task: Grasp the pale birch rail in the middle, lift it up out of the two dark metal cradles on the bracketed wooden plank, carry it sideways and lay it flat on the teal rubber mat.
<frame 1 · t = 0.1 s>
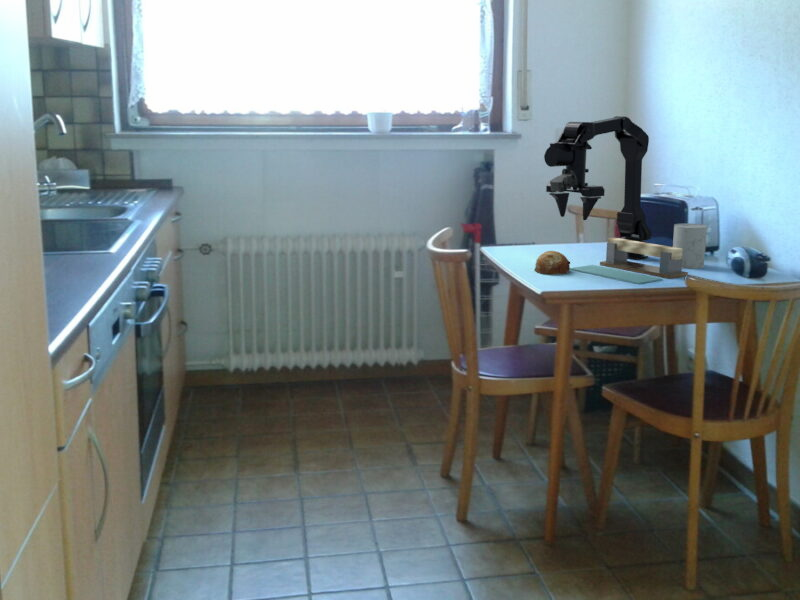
hand: (573, 218, 262), 15 cm above the table, fingers open, 9 cm apart
mat: (614, 274, 254), on the table
bracketed wooden plank: (642, 270, 260), on the table
rail: (643, 253, 259), point 5 cm above the table, touching bracketed wooden plank
grey stone cylinder: (687, 266, 268), on the table
bread roll: (552, 272, 259), on the table
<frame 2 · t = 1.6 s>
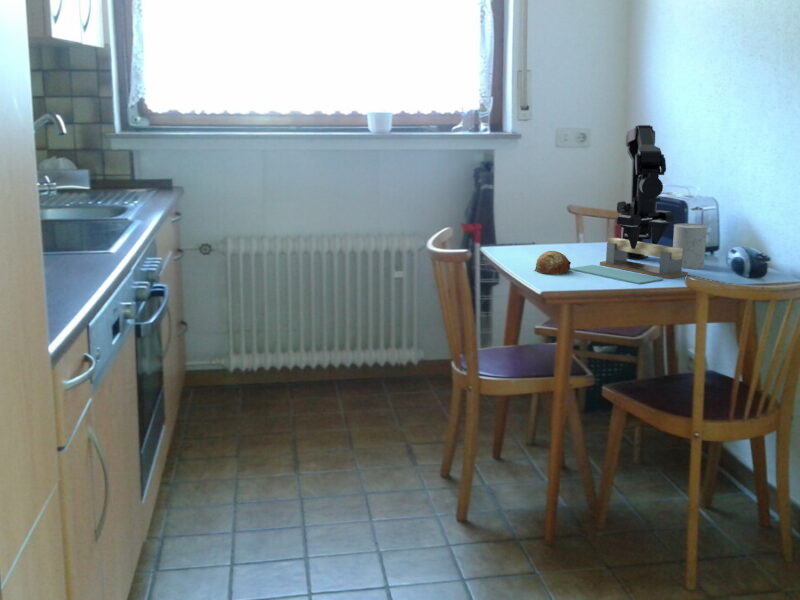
hand: (643, 247, 259), 7 cm above the table, fingers open, 9 cm apart
nothing on the table moved.
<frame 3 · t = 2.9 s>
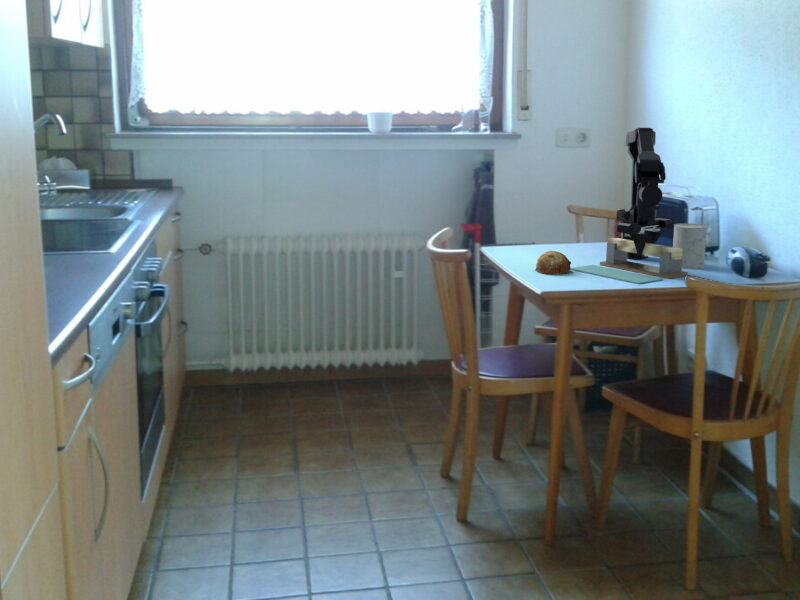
hand: (643, 255, 259), 5 cm above the table, fingers closed on rail, 3 cm apart
rail: (643, 253, 259), point 5 cm above the table, touching gripper, bracketed wooden plank
everything else where it was.
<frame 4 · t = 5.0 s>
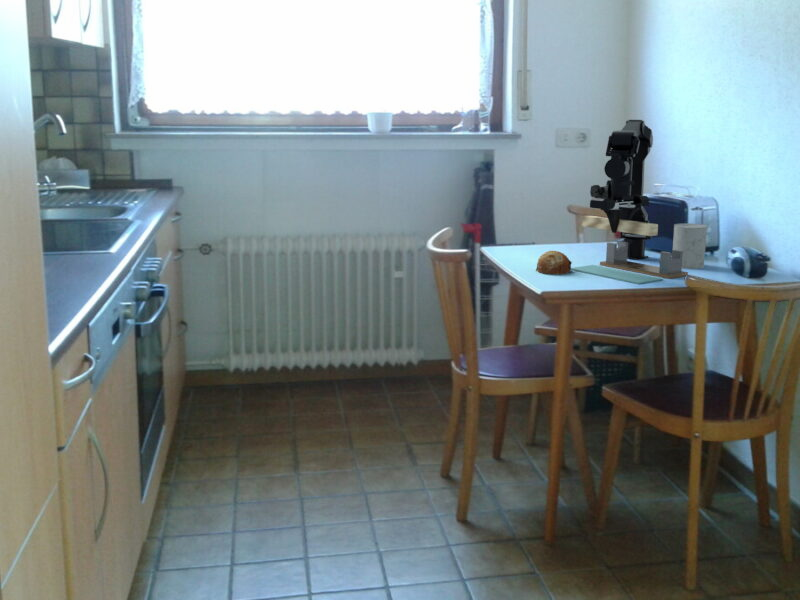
hand: (618, 232, 251), 12 cm above the table, fingers closed on rail, 3 cm apart
rail: (618, 230, 251), point 13 cm above the table, touching gripper
everything else where it was.
when the fingers open (2 cm above the table, at t = 7.4 s): rail drops 3 cm, resting on mat.
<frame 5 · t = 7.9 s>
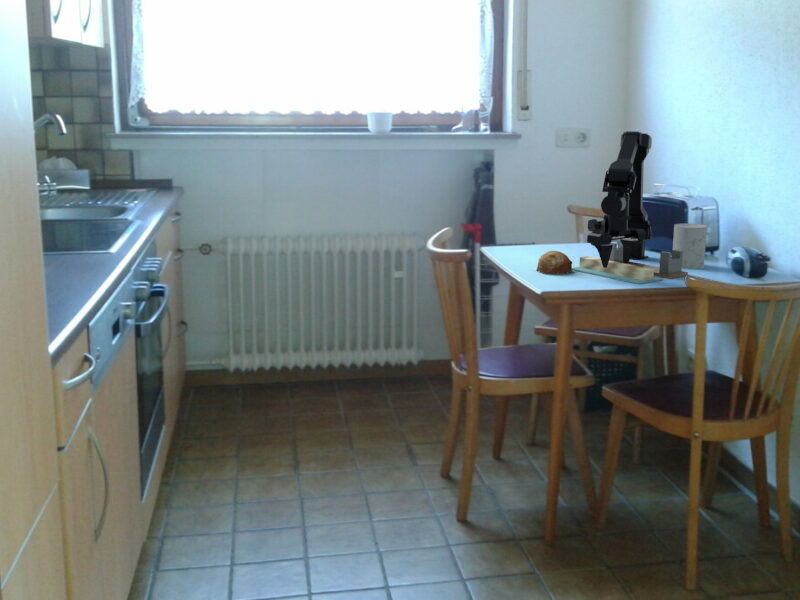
hand: (615, 266, 253), 2 cm above the table, fingers open, 8 cm apart
rail: (615, 273, 254), resting on mat
everything else where it was.
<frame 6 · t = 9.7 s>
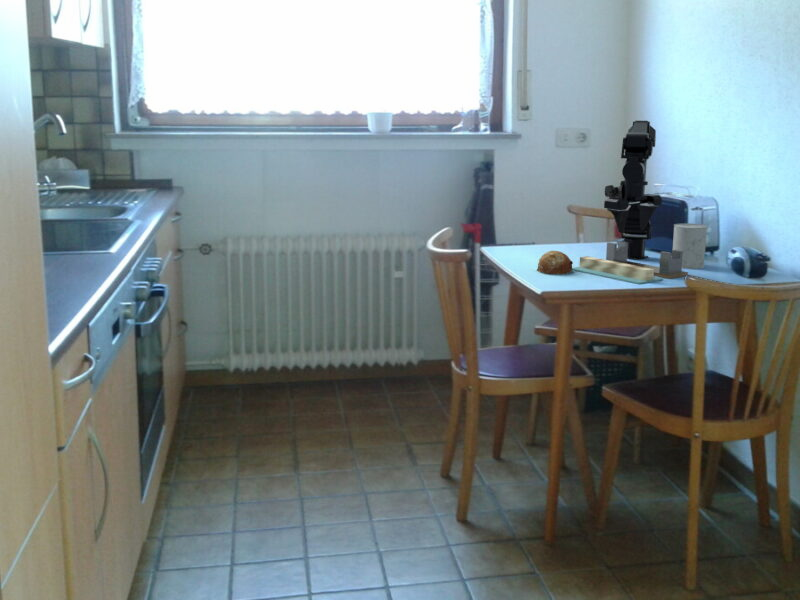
hand: (631, 231, 259), 11 cm above the table, fingers open, 9 cm apart
nothing on the table moved.
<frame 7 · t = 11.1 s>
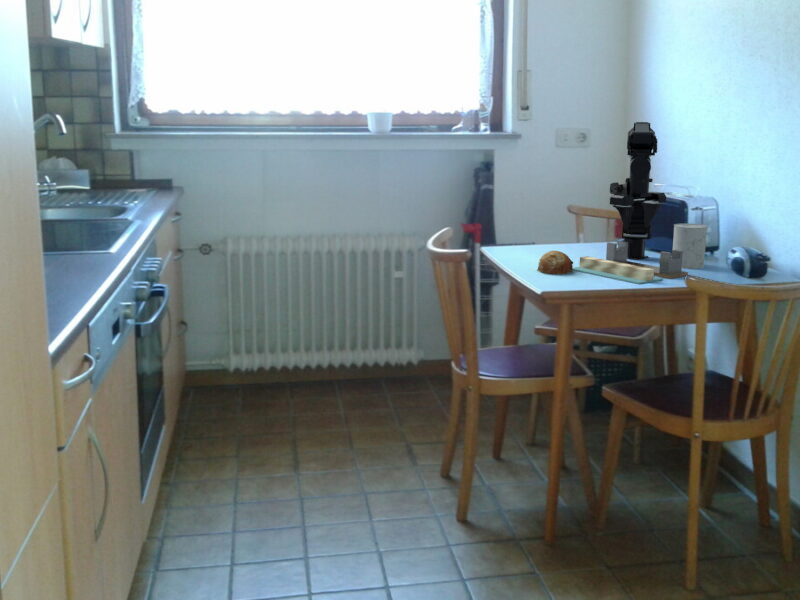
hand: (636, 227, 261), 12 cm above the table, fingers open, 9 cm apart
nothing on the table moved.
at the end: rail inside the target area on the mat (0.1 cm from its centre), point 0.4 cm above the mat's base; rail touching mat; the gripper is holding nothing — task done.
